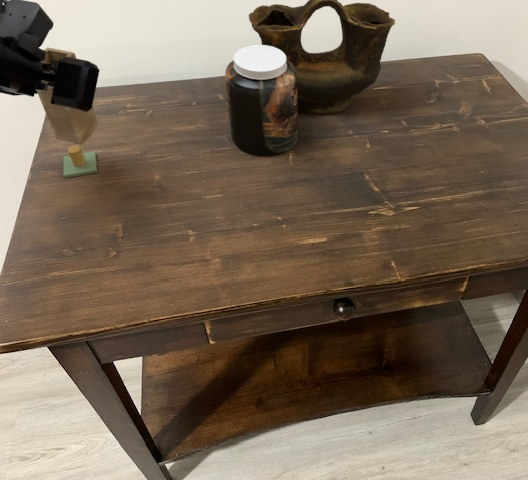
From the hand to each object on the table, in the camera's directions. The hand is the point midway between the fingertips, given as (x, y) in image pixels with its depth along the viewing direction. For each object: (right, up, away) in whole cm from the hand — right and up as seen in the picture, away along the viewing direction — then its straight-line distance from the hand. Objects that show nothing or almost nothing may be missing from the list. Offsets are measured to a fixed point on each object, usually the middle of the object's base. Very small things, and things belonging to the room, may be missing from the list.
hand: (70, 91), depth 78 cm
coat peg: (-3, -10, +9) cm, 14 cm away
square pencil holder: (-1, -5, +4) cm, 7 cm away
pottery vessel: (+37, +5, +24) cm, 44 cm away
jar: (+27, -4, +16) cm, 32 cm away
